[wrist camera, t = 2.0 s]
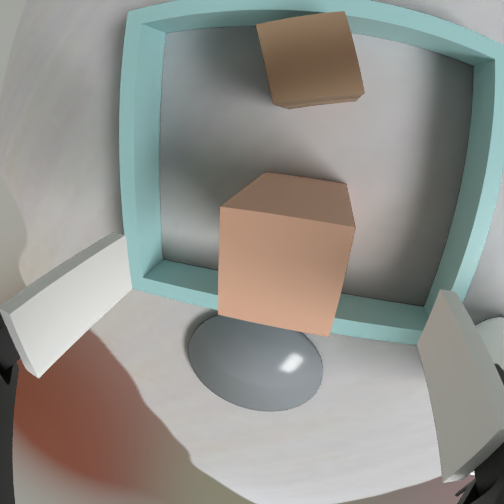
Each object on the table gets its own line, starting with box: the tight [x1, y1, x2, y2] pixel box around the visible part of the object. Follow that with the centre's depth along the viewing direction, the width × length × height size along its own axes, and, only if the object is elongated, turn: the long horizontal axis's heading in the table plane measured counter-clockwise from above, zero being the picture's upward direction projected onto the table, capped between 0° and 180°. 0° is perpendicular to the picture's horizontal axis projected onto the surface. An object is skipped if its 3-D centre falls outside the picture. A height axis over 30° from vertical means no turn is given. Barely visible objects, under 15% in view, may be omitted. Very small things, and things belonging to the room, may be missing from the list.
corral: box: [119, 0, 504, 345], centre depth 16 cm, size 19×22×3 cm
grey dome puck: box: [188, 315, 323, 412], centre depth 25 cm, size 12×12×1 cm
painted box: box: [218, 172, 356, 337], centre depth 15 cm, size 5×5×8 cm
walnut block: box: [256, 11, 364, 109], centre depth 13 cm, size 4×4×5 cm
